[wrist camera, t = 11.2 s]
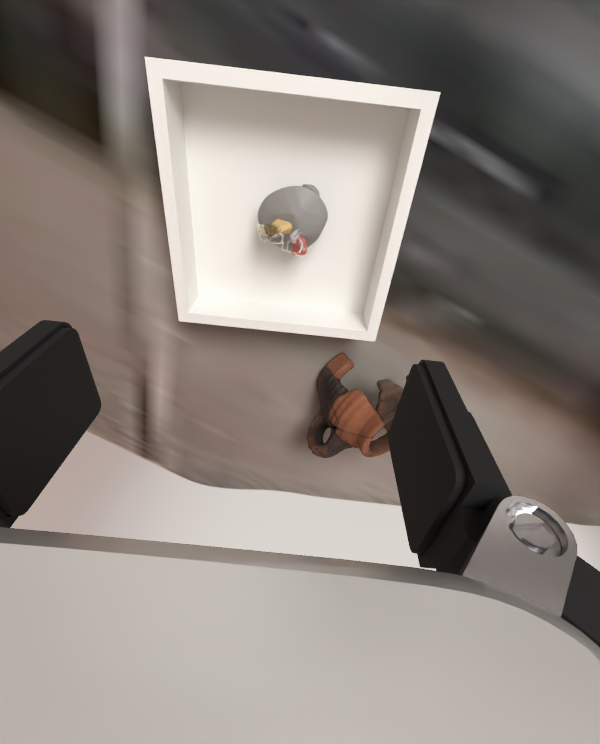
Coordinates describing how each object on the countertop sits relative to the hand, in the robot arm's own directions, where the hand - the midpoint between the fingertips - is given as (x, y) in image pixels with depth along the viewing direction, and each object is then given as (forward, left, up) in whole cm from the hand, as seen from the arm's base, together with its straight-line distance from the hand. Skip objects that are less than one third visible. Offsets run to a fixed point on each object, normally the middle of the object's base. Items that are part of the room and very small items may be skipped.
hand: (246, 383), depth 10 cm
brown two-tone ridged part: (-8, +17, -21) cm, 28 cm away
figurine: (0, 0, -19) cm, 19 cm away
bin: (0, 0, -20) cm, 20 cm away
